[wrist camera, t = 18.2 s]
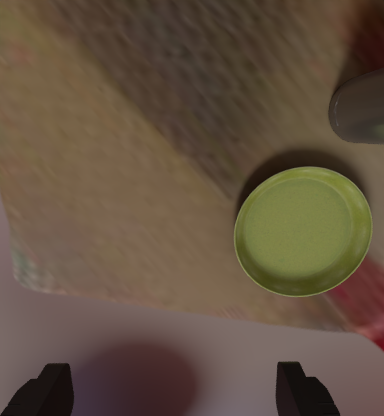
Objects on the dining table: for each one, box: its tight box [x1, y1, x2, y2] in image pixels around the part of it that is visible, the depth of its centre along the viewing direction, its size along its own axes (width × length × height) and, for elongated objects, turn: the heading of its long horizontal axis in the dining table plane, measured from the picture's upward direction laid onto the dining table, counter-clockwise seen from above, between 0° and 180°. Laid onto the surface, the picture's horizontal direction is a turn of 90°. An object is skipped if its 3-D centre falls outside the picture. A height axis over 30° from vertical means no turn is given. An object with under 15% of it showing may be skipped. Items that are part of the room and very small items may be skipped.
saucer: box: [234, 167, 373, 297], centre depth 47 cm, size 21×21×3 cm
